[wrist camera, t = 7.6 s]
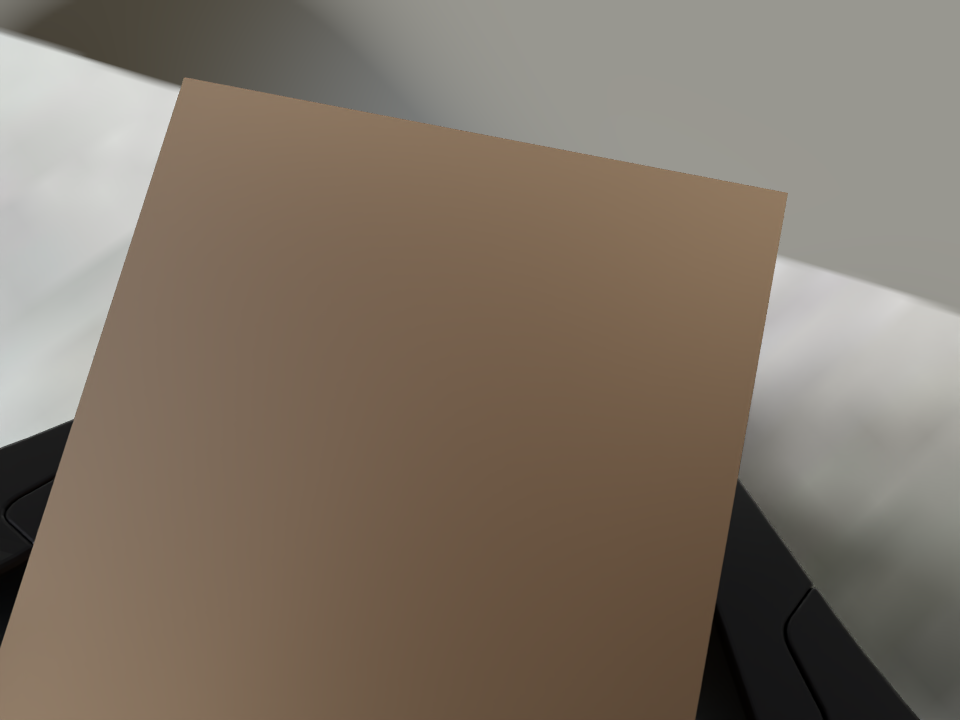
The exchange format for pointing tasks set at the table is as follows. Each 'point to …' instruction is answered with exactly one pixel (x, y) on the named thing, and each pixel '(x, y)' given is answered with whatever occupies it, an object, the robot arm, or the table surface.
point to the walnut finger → (398, 432)
